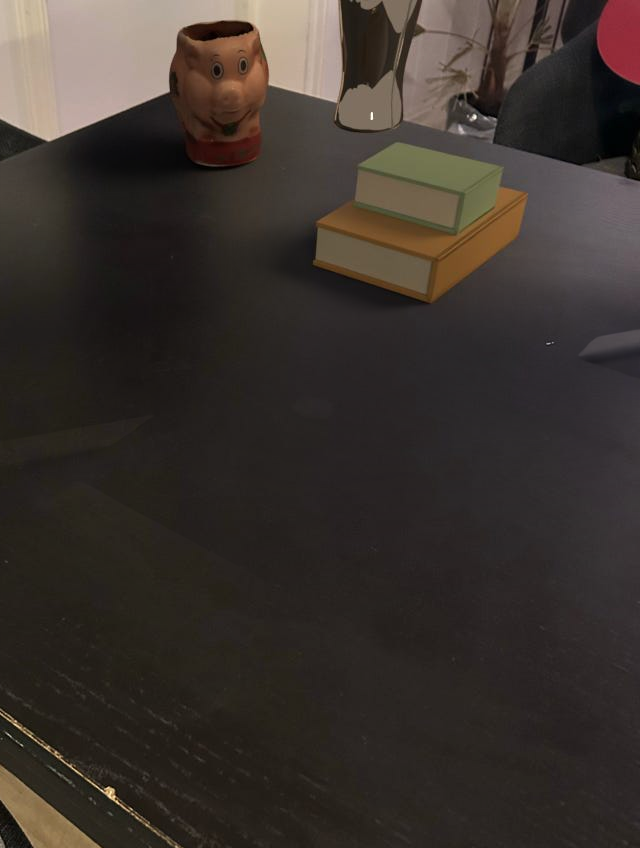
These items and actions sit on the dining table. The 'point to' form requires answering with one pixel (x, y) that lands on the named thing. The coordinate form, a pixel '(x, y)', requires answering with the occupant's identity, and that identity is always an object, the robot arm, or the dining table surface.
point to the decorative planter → (219, 90)
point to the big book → (413, 247)
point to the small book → (427, 187)
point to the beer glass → (373, 62)
